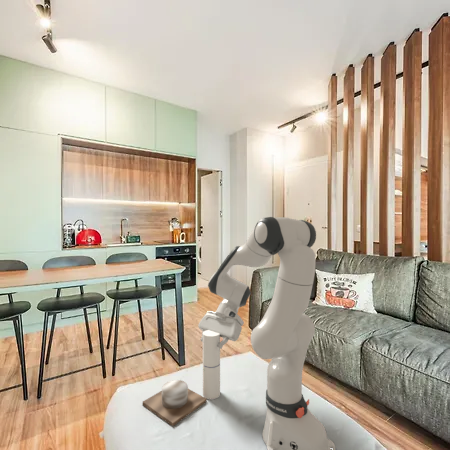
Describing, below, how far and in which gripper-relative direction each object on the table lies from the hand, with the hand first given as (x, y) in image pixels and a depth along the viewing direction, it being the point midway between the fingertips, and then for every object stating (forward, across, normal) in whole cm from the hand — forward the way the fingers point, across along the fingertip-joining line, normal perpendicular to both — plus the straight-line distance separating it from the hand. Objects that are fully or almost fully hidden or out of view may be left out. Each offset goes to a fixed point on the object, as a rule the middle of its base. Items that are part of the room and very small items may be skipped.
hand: (210, 344), depth 111 cm
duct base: (+24, -7, +5) cm, 25 cm away
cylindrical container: (+14, 0, +15) cm, 21 cm away
